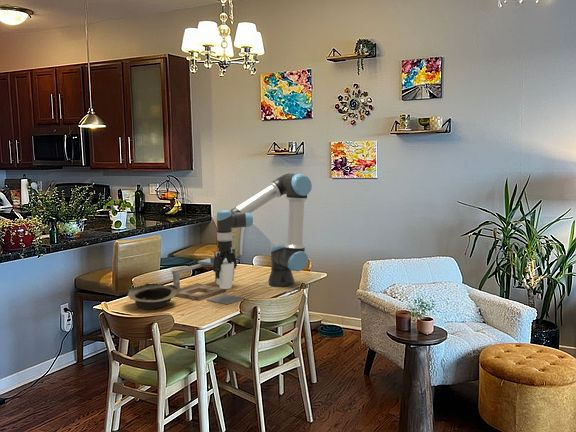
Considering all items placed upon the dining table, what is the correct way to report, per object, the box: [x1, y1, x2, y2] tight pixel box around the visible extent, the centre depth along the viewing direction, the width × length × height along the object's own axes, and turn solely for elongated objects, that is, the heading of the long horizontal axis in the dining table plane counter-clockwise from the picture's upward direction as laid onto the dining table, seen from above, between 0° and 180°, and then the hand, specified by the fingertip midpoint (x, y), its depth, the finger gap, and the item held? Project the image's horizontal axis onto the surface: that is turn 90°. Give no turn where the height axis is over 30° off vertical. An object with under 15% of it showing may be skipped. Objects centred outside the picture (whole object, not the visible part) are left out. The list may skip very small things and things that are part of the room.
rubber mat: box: [206, 293, 246, 305], centre depth 287 cm, size 14×14×1 cm
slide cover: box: [197, 256, 240, 266], centre depth 314 cm, size 18×14×4 cm
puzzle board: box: [171, 263, 227, 302], centre depth 307 cm, size 22×39×14 cm, turn 146°
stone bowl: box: [127, 283, 178, 311], centre depth 277 cm, size 25×25×9 cm
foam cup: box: [218, 261, 235, 290], centre depth 285 cm, size 10×9×13 cm
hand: (225, 282), depth 286 cm, fingers closed on foam cup, 9 cm apart
